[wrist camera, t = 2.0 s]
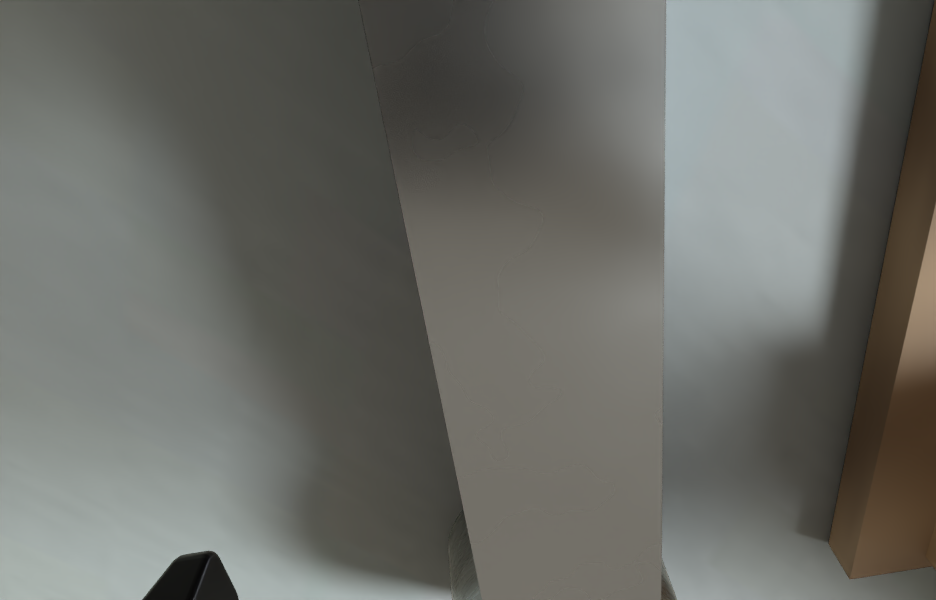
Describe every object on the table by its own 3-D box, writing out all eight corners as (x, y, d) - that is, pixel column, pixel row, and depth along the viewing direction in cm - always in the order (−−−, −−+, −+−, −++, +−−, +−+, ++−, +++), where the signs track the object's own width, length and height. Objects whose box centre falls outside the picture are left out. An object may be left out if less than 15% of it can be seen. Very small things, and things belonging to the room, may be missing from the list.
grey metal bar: (647, 586, 22) (700, 745, 18) (463, 616, 22) (477, 781, 18) (636, -872, 8) (849, -1479, 4) (136, -787, 8) (-90, -1319, 4)
